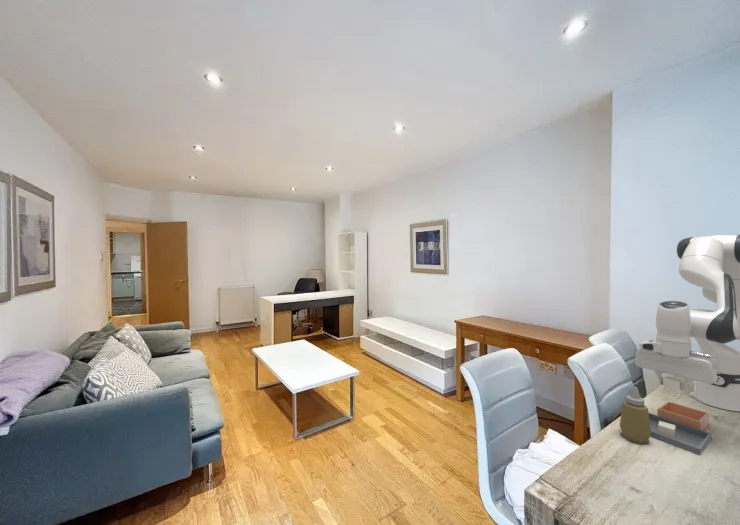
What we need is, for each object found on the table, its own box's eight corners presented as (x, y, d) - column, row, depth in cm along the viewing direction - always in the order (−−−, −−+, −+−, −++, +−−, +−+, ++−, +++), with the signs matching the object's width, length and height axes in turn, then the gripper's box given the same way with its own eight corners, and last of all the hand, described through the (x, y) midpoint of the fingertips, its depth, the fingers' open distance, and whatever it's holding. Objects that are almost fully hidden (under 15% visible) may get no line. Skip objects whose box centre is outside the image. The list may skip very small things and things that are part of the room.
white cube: (667, 386, 109) (667, 375, 109) (682, 390, 106) (682, 379, 106) (663, 389, 107) (663, 378, 107) (679, 393, 103) (679, 382, 103)
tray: (645, 418, 116) (645, 411, 116) (712, 441, 102) (712, 433, 101) (629, 430, 108) (629, 423, 108) (699, 457, 94) (699, 448, 94)
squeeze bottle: (657, 448, 98) (657, 393, 98) (628, 445, 100) (629, 391, 99) (640, 434, 106) (640, 383, 106) (614, 431, 107) (614, 381, 107)
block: (659, 431, 106) (659, 420, 106) (675, 436, 103) (675, 425, 103) (658, 436, 103) (658, 424, 103) (674, 441, 100) (674, 429, 100)
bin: (667, 412, 120) (667, 400, 120) (708, 425, 111) (709, 413, 111) (657, 420, 115) (657, 408, 114) (700, 435, 105) (700, 422, 105)
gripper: (720, 354, 99) (719, 396, 99) (639, 340, 116) (639, 375, 116) (715, 358, 95) (714, 401, 96) (633, 342, 113) (633, 379, 113)
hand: (672, 387), depth 106 cm, fingers closed on white cube, 4 cm apart
